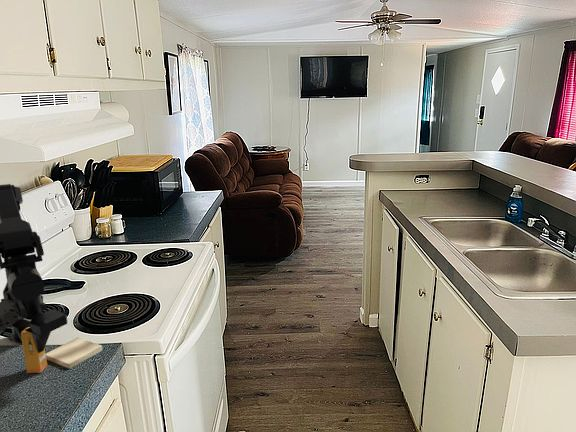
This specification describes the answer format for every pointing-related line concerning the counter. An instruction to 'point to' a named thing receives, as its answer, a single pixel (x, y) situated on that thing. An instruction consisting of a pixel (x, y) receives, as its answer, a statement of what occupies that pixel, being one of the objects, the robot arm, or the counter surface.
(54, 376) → the counter surface
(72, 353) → the birch board
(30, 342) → the supplement box
